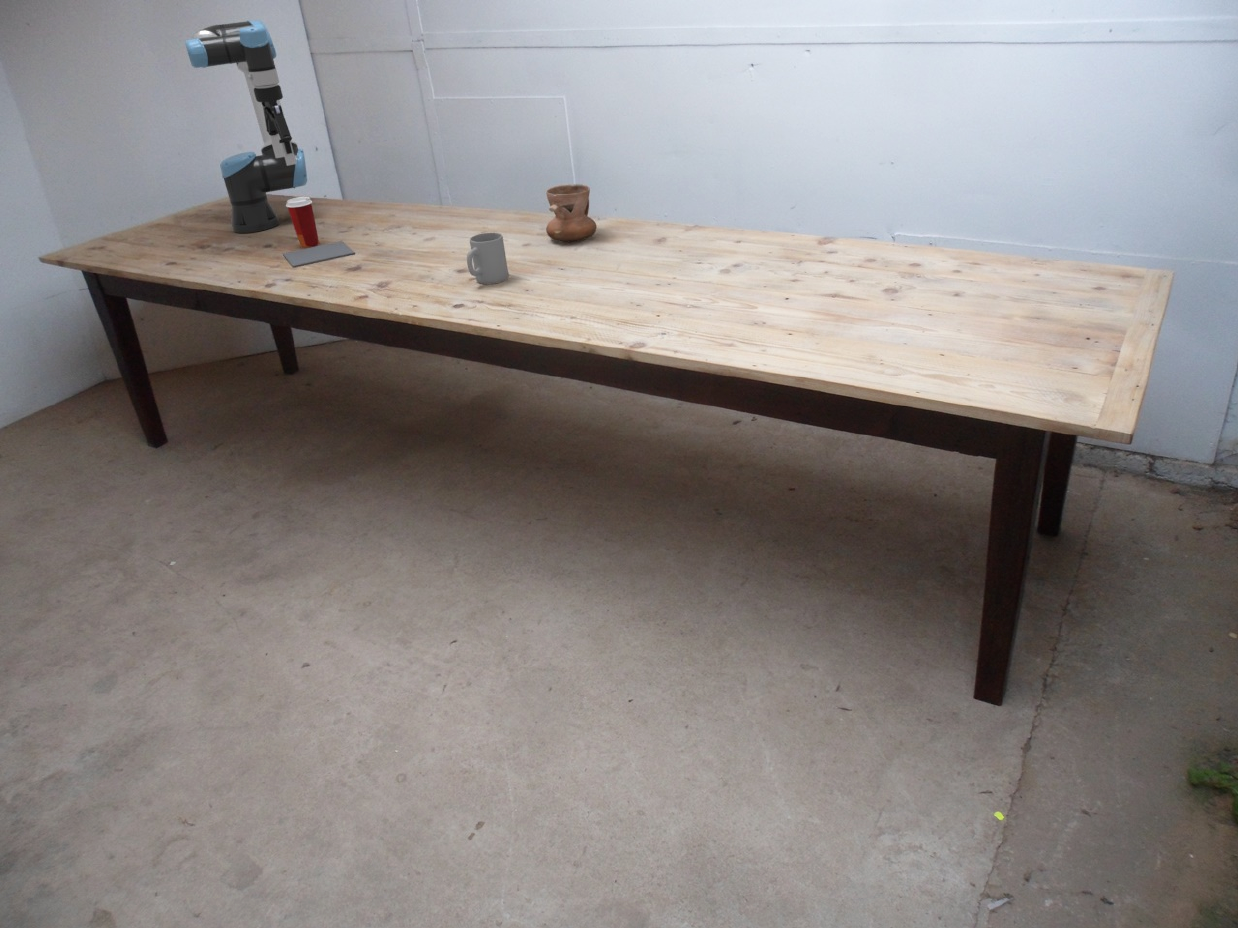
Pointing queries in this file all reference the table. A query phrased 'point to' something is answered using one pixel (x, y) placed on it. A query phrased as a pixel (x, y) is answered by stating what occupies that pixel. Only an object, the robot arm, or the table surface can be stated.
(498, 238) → the mug
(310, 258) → the rubber mat
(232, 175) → the robot arm
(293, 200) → the paper cup
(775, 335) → the table surface
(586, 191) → the ceramic jug
